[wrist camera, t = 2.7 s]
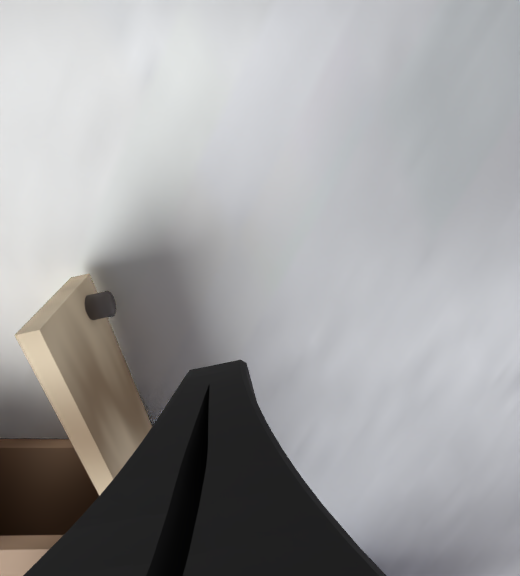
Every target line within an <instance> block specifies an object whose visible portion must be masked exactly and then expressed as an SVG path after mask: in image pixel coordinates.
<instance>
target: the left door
mask: <svg viewBox="0 0 520 576" xmlns="http://www.w3.org/2000/svg"><path fill="white" fill-rule="evenodd" d="M115 313H116V304H115V300H114V297H113V295H112V294H111V292H109V291H105V292H101V293H97V291H96V288H95V286H94V283H93V281H92V278H91V276H90V274H86V275H81V276H76V277H71V278H70V279H69V280H68V281H67V282H66V283H65V284H64V285H63V286H62V287H61V288H60V289H59V290H58V291H57V292H56V293H55V294H54V295H53V296H52V297H51V298H50V299H49V301H48V302H47V303H46V304H45V305H44V306H43V307H42V308H41V309H40V310H39V311H38V312H37V313H36V314H35V315H34V316H33V317H32V318H31V319H30V320H29V321H28V322H27V323H26V324H25V325H24V326H23V327H22V328H21V329H20V330H19V331H18V332H17V333H16V334H15V337H16V339H17V341H18V343H19V345H20V347H21V348H22V350H23V352H24V354H25V356H26V358H27V360H28V362H29V364H30V365H31V367H32V369H33V371H34V373H35V375H36V377H37V379H38V381H39V382H40V384H41V386H42V388H43V390H44V392H45V394H46V396H47V398H48V399H49V401H50V403H51V405H52V407H53V409H54V411H55V413H56V415H57V416H58V418H59V420H60V422H61V424H62V426H63V428H64V430H65V432H66V434H67V435H68V437H69V439H70V441H71V443H72V445H73V447H74V449H75V451H76V452H77V454H78V456H79V458H80V460H81V462H82V464H83V466H84V468H85V469H86V471H87V473H88V475H89V477H90V479H91V481H92V483H93V485H94V486H95V488H96V490H97V492H98V494H99V496H100V495H101V493H102V492H103V491H104V490H105V489H106V487H107V486H108V485H109V484H110V483H111V481H112V480H113V479H114V478H115V477H116V475H117V474H118V473H119V472H120V470H121V469H122V468H123V466H124V465H125V464H126V462H127V461H128V460H129V458H130V457H131V456H132V454H133V453H134V452H135V450H136V449H137V448H138V446H139V445H140V444H141V442H142V441H143V439H144V438H145V437H146V435H147V434H148V432H149V431H150V429H151V428H152V425H151V423H150V420H149V418H148V415H147V413H146V410H145V408H144V405H143V403H142V401H141V398H140V396H139V393H138V391H137V388H136V386H135V383H134V381H133V379H132V376H131V374H130V371H129V369H128V366H127V364H126V361H125V359H124V357H123V354H122V352H121V349H120V347H119V344H118V342H117V340H116V337H115V335H114V332H113V330H112V327H111V325H110V322H109V320H108V318H107V317H111V316H114V315H115Z"/></svg>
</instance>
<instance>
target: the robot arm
mask: <svg viewBox="0 0 520 576" xmlns="http://www.w3.org/2000/svg"><path fill="white" fill-rule="evenodd" d="M23 576H386V575H385V574H384V573H383V572H382V571H381V570H380V569H379V568H378V566H377V565H376V564H375V563H374V562H373V561H372V560H371V559H370V558H369V557H368V556H367V555H366V554H365V553H364V552H363V551H362V550H361V549H360V547H359V546H358V545H357V544H356V543H355V542H354V541H353V539H352V538H351V537H350V536H349V535H348V534H347V532H346V531H345V530H344V529H343V528H342V527H341V525H340V524H339V523H338V522H337V521H336V520H335V519H334V517H333V516H332V515H331V514H330V513H329V512H328V510H327V509H326V508H325V507H324V506H323V505H322V503H321V502H320V501H319V499H318V498H317V497H316V496H315V494H314V493H313V492H312V490H311V489H310V488H309V486H308V485H307V484H306V483H305V481H304V480H303V478H302V477H301V476H300V474H299V473H298V471H297V470H296V469H295V467H294V466H293V464H292V463H291V461H290V460H289V458H288V457H287V455H286V454H285V452H284V451H283V449H282V448H281V446H280V444H279V443H278V441H277V439H276V438H275V436H274V434H273V433H272V431H271V429H270V427H269V426H268V424H267V422H266V420H265V418H264V416H263V414H262V412H261V410H260V408H259V406H258V404H257V401H256V398H255V394H254V390H253V386H252V382H251V379H250V375H249V371H248V367H247V363H245V362H244V361H242V360H238V361H233V362H228V363H223V364H218V365H213V366H208V367H203V368H198V369H193V370H190V371H189V372H188V373H187V375H186V376H185V378H184V379H183V381H182V382H181V384H180V385H179V387H178V388H177V390H176V392H175V393H174V395H173V396H172V398H171V399H170V401H169V402H168V404H167V406H166V407H165V409H164V410H163V412H162V413H161V415H160V416H159V418H158V419H157V421H156V422H155V423H154V425H153V426H152V428H151V429H150V431H149V432H148V434H147V435H146V437H145V438H144V439H143V441H142V442H141V444H140V445H139V446H138V448H137V449H136V450H135V452H134V453H133V454H132V456H131V457H130V458H129V460H128V461H127V462H126V464H125V465H124V466H123V468H122V469H121V470H120V472H119V473H118V474H117V475H116V477H115V478H114V479H113V480H112V481H111V483H110V484H109V485H108V486H107V487H106V489H105V490H104V491H103V492H102V493H101V495H100V496H99V497H98V498H97V499H96V500H95V501H94V502H93V504H92V505H91V506H90V507H89V508H88V509H87V510H86V511H85V513H84V514H83V515H82V516H81V517H80V518H79V519H78V520H77V522H76V523H75V524H74V525H73V526H72V527H71V528H70V529H69V530H68V531H67V532H66V533H65V534H64V535H63V536H62V537H61V538H60V539H59V540H58V541H57V542H56V543H55V544H54V545H53V546H52V547H51V548H50V549H49V550H48V551H47V552H46V553H45V554H44V555H43V556H42V557H41V558H40V559H39V560H38V561H37V562H36V563H35V564H34V565H33V566H32V567H31V568H30V569H29V570H28V571H27V572H26V573H25V574H24V575H23Z"/></svg>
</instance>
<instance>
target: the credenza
mask: <svg viewBox="0 0 520 576" xmlns="http://www.w3.org/2000/svg"><path fill="white" fill-rule="evenodd" d="M98 497H99V494H98V492H97V490H96V488H95V486H94V485H93V483H92V481H91V479H90V477H89V475H88V473H87V471H86V469H85V468H84V466H83V464H82V462H81V460H80V458H79V456H78V454H77V452H76V451H75V449H74V447H73V445H72V443H71V441H70V439H0V576H23V575H24V574H25V573H26V572H27V571H28V570H29V569H30V568H31V567H32V566H33V565H34V564H35V563H36V562H37V561H38V560H39V559H40V558H41V557H42V556H43V555H44V554H45V553H46V552H47V551H48V550H49V549H50V548H51V547H52V546H53V545H54V544H55V543H56V542H57V541H58V540H59V539H60V538H61V537H62V536H63V535H64V534H65V533H66V532H67V531H68V530H69V529H70V528H71V527H72V526H73V525H74V524H75V523H76V522H77V520H78V519H79V518H80V517H81V516H82V515H83V514H84V513H85V511H86V510H87V509H88V508H89V507H90V506H91V505H92V504H93V502H94V501H95V500H96V499H97V498H98Z"/></svg>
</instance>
